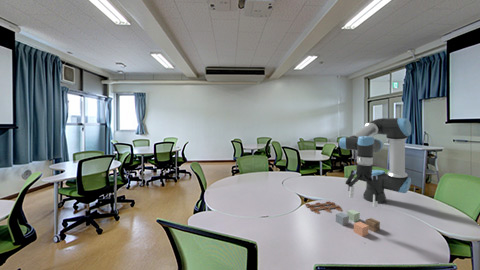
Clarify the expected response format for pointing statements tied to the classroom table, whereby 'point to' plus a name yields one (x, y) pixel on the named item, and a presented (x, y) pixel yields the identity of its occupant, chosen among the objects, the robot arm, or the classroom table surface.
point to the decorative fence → (323, 207)
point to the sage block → (353, 215)
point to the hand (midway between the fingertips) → (362, 201)
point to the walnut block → (373, 224)
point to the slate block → (342, 219)
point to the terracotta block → (361, 228)
